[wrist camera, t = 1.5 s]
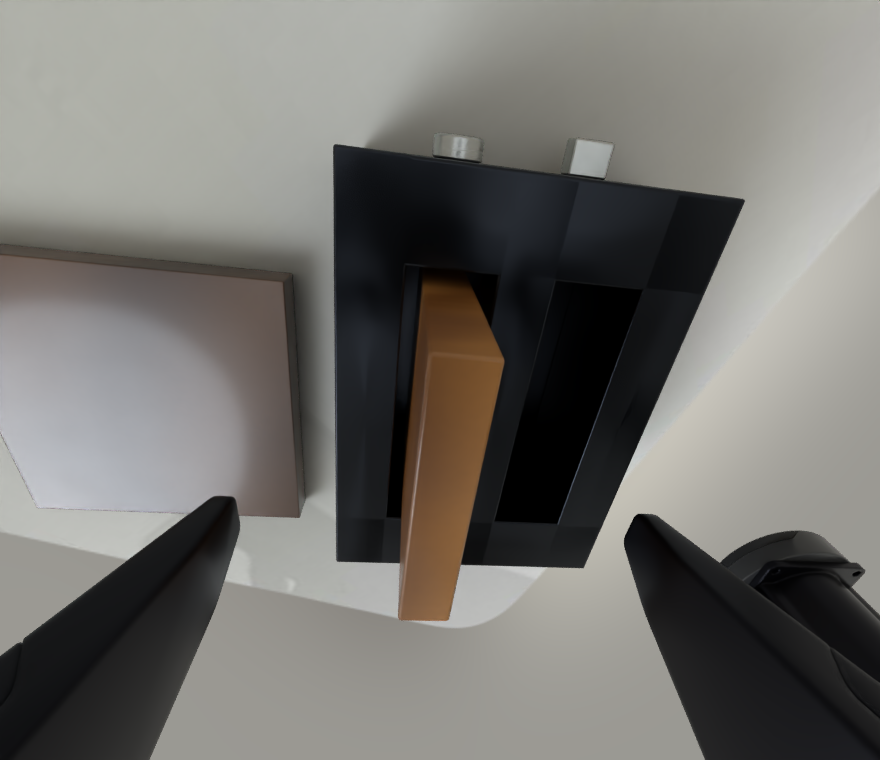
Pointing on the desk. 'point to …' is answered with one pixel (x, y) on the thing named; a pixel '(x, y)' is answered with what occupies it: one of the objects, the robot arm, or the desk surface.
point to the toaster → (512, 332)
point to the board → (149, 383)
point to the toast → (443, 438)
